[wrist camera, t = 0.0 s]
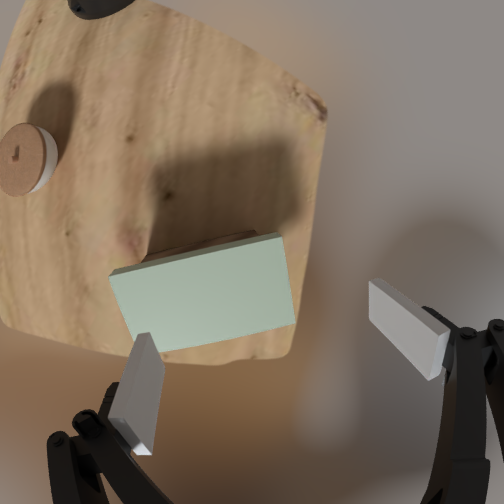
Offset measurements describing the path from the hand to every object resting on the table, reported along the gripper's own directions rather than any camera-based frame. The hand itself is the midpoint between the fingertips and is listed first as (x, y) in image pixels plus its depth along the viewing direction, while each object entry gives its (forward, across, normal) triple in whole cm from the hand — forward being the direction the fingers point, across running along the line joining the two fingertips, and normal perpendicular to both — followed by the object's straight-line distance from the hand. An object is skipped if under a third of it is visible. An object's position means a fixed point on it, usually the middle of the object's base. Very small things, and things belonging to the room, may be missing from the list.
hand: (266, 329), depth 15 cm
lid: (+18, -5, -5) cm, 19 cm away
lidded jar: (+28, -28, +19) cm, 44 cm away
